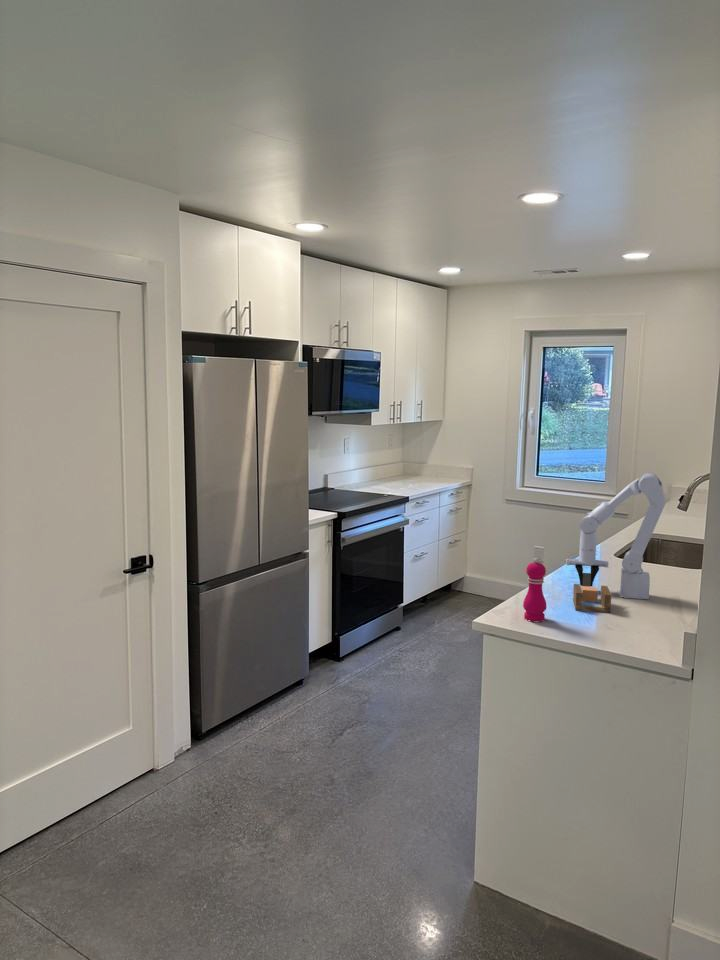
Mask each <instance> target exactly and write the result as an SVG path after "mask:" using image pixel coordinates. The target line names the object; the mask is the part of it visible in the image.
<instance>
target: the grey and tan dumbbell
mask: <svg viewBox="0 0 720 960" xmlns="http://www.w3.org/2000/svg"><path fill="white" fill-rule="evenodd" d="M582 581H583V584H582V586H581V590H582V593H583V596H582V602H588V603H589V602H590V603H598V600H599V596H598V595H599V590H598V587H597V586H591V572H583V575H582Z"/></svg>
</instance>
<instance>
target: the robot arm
mask: <svg viewBox="0 0 720 960" xmlns="http://www.w3.org/2000/svg"><path fill="white" fill-rule="evenodd" d="M641 493H642V494H644V495H645V496H646V498H647V500H648V502H649V506H648V508H647V511H646V513H645V516H644V518H643V520H642V522H641V525H640V527H639V530H638V532H637V534H636V536H635V539H634V540H633V543H632V545H631V548H630V549H629V550H628V551H627V552H625V554H624V557H623V559H622V560H621V566H622V567H621V571H620V587H619V589H618V590H617V592H618V594H619V598H622V597H624V599H638V600H650V585H651V584H650V582H651V581H650V580H651V579H650V578H651V577H650V573H649V572H648V571H644V569H642V564H643V562H644V554H645V551H646V549H647V547H648V543H650V540H651V538H652V535H653V533H654V531H655V528H656V526H657V525H658V521H659V519H660V516H661V515H662V513H663V510H664V508H665V506H666V503H667V499H666V496H665V495H666V494H665V492H664V487H663V483H662V481H661V480H660V477H658V475H656V474H655V473H653V472H646V473H644V474H643V475H641V477H638V478H636V479H635V480H633V481H631V482H630V483H629V484H627V486H625V487H624V488H623V489H622V490H620V492H619V493H617V494H616V495H615V496H614V497H613V498H612V499H610V501H602V502H598V503H597V504H596V507H595V508H594V509H593V510H592V511H590V512H589V511H588V512H587V513H586V515H585V516H584V517H583V518H582V519H581V520H580V522H579V529H580V535H579V550H578V551H579V555H578V558H566V559H565V561H566V562H565V565H566V566H574V567H575V570H576V572H577V573H578V578H579V584H580V586H581V587H582V584H583V581H582V575H583V573H584V572H583V571H584V568H583V567H590V574H591V587H593V584H594V580H595V577H596V576H597V574H598V572H599V571H600V568H601V567H603V568H609V561H608V560H600V559H596V558H597V557H596V555H597V537H598V536H597V529H598V527H599V526H602V525H603V524H604V523H605V522H607V521H608V520H609V519H610V518H611V517H612V516H613V515H615V513H616V508H617V507H619V506H620V505H622V503H624V502H625V501H626V500H628V499H629V498H631V496H634V495H641Z"/></svg>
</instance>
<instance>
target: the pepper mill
mask: <svg viewBox="0 0 720 960" xmlns="http://www.w3.org/2000/svg"><path fill="white" fill-rule="evenodd" d="M525 571H526V575H527V576H528V577H527V582H528V588H527V589H528V590H527V592H526V594H525V597H524V600H523V602H522V603H523V604H522V607H523V609H524V610H525V611H524V616H523V617H524V620H526V619H527V620H526V621H528V620H530V621H529V622H531V621H541V622H543V620H544V621H545V617H546V616H545V613H544V612H545V611H546V610H547V601H546V598H545V596H544V593H543V592H544V591H543V584H544V582H545V581H544V580H545V579H544V577H545V575H547V573H546V572H547V570H546V567H545V565H544V564H542V563H541V562H540V559H539V558H538V557H534V558H533V562H530V563H528V565H527V566H526V570H525Z"/></svg>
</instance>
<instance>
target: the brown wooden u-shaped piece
mask: <svg viewBox="0 0 720 960" xmlns="http://www.w3.org/2000/svg"><path fill="white" fill-rule="evenodd" d="M608 586H609V585H600V598H599V599H600V600H599V601H600V602H601V603H600V605H602V606H595V605H583V601H582V596H583V593H582V590H581V587H582V586H581V585H580V583H574V584H573V595H572V596H573V597H572V601H573V602H572V603H573V606H574V610H575V611H578V612H581V611H582V612H593V613H605V612H606V613H605V614H607V613H609V614H611V611H612V610H611V609H612V593H611V592H610V589H609V587H608Z"/></svg>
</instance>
